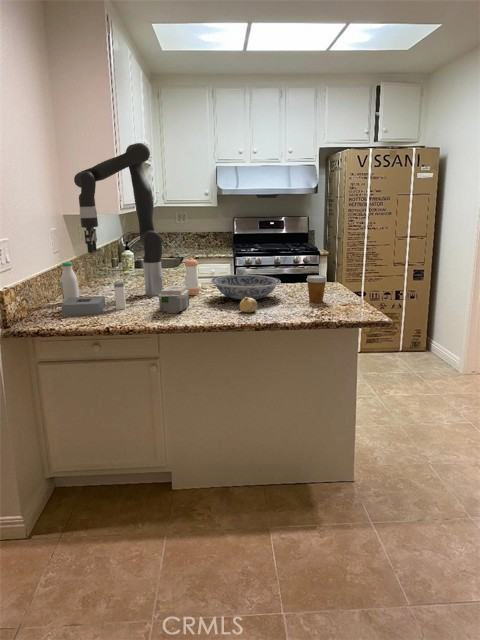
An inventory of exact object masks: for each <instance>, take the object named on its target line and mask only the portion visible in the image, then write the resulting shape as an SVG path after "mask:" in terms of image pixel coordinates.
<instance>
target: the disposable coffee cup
mask: <svg viewBox="0 0 480 640" xmlns="http://www.w3.org/2000/svg"><path fill="white" fill-rule="evenodd" d="M305 280H306V282H307V290H308V300H309V302H310V303H314V304H315V303H316V304H318V303H322V302H323V301H324V296H325V294H324V293H325V289H326V282H327V277H326V275H321V274H320V275H319V274H314V275H313V274H312V275H307V278H306V279H305Z"/></svg>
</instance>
